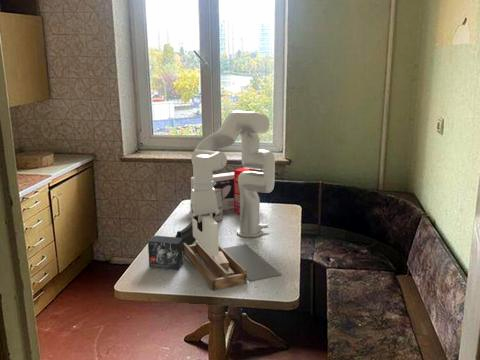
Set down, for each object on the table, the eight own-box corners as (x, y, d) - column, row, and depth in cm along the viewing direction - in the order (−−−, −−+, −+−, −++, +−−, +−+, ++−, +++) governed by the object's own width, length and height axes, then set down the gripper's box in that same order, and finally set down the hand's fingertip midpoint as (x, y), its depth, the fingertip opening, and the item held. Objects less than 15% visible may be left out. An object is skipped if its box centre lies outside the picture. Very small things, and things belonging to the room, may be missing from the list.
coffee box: (223, 219, 256) (223, 190, 252) (216, 222, 251) (216, 193, 247) (209, 216, 261) (209, 187, 257) (202, 219, 256) (202, 190, 252)
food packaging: (241, 215, 262) (241, 171, 256) (234, 213, 265) (234, 169, 259) (257, 209, 273) (258, 166, 267) (250, 207, 276) (250, 165, 270)
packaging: (195, 214, 263) (194, 179, 258) (191, 211, 269) (190, 177, 264) (244, 206, 277) (244, 173, 272) (239, 204, 282) (239, 171, 277)
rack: (213, 249, 216) (212, 238, 214) (246, 283, 184) (246, 270, 182) (183, 254, 210) (183, 243, 209) (212, 290, 178) (212, 277, 177)
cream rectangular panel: (199, 234, 204) (198, 206, 200) (218, 254, 185) (217, 223, 181) (192, 236, 203) (191, 207, 199) (211, 256, 183) (210, 224, 180)
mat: (245, 245, 221) (245, 244, 221) (281, 275, 191) (281, 274, 191) (217, 249, 216) (217, 249, 215) (250, 281, 186) (250, 280, 185)
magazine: (178, 239, 204) (201, 200, 229) (170, 238, 205) (194, 200, 229) (183, 269, 213) (205, 229, 237) (176, 268, 214) (198, 228, 238)
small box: (148, 268, 197) (147, 241, 194) (154, 261, 203) (152, 235, 200) (179, 270, 195) (178, 243, 192) (183, 263, 201) (183, 237, 198)
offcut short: (221, 256, 203) (221, 251, 202) (228, 267, 192) (228, 262, 191) (211, 257, 202) (211, 252, 201) (218, 269, 190) (217, 263, 190)
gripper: (219, 181, 193) (220, 223, 198) (180, 186, 187) (182, 229, 192) (226, 186, 186) (227, 229, 192) (186, 191, 180) (188, 236, 185)
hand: (204, 229), depth 192 cm, fingers closed on cream rectangular panel, 3 cm apart
